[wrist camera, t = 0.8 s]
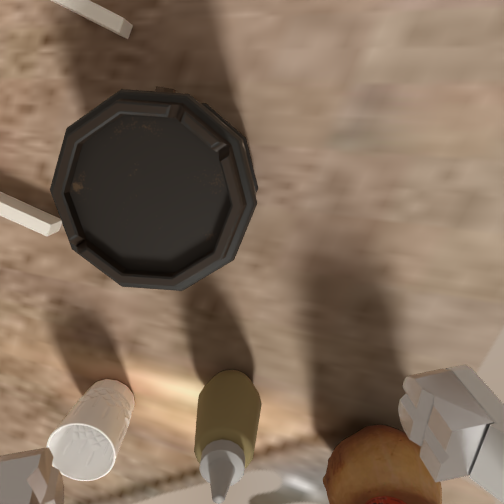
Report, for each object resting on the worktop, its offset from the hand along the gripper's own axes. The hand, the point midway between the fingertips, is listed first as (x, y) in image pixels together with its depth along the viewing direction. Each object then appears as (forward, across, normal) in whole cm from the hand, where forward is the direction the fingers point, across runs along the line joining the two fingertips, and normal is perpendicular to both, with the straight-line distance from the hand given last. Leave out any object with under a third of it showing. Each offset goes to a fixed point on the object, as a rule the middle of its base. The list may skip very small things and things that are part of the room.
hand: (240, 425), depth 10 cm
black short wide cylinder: (+42, -1, +9) cm, 43 cm away
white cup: (+37, +13, +38) cm, 55 cm away
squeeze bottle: (+34, -4, +36) cm, 50 cm away
